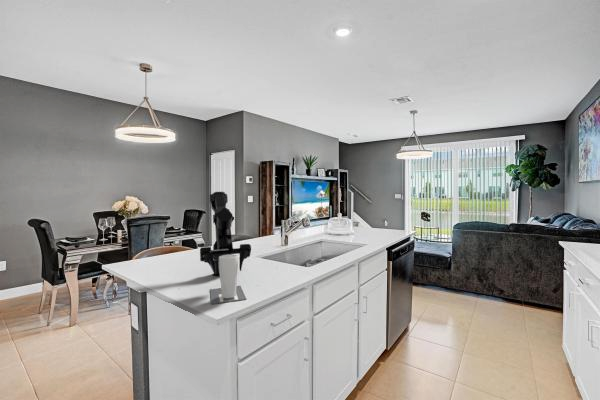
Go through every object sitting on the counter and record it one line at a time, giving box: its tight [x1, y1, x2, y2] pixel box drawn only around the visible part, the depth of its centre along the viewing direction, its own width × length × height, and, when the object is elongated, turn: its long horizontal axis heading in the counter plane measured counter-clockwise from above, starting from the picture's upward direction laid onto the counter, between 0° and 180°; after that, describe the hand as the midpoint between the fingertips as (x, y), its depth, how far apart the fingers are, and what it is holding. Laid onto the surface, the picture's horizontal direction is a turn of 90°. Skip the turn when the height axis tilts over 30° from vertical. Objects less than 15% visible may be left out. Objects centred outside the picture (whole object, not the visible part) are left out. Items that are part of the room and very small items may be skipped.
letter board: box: [209, 285, 247, 305], centre depth 112 cm, size 16×12×1 cm
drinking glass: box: [219, 254, 239, 299], centre depth 109 cm, size 7×7×15 cm
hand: (227, 271), depth 107 cm, fingers open, 9 cm apart
